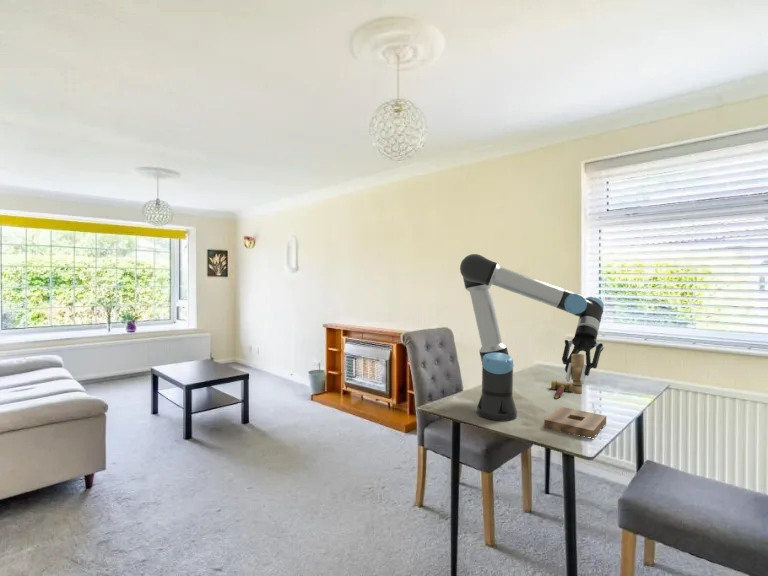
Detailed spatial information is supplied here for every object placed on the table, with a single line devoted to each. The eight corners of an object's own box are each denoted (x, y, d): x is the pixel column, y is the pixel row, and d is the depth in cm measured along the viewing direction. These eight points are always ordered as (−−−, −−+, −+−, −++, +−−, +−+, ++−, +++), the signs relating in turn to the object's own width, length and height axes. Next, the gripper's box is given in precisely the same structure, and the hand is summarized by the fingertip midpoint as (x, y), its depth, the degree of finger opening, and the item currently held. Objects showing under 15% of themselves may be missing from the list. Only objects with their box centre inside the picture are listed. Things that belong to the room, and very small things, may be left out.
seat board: (544, 427, 144) (544, 419, 144) (561, 414, 159) (561, 406, 159) (593, 439, 133) (593, 430, 133) (606, 423, 149) (606, 415, 149)
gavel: (568, 394, 177) (544, 391, 182) (568, 404, 177) (544, 401, 183) (574, 382, 194) (552, 379, 200) (574, 391, 195) (552, 388, 200)
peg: (569, 393, 146) (570, 354, 146) (572, 390, 149) (573, 353, 149) (581, 395, 143) (582, 356, 143) (584, 392, 146) (585, 354, 146)
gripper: (613, 339, 152) (602, 391, 140) (565, 334, 163) (551, 382, 151) (610, 326, 148) (599, 378, 135) (561, 322, 159) (547, 370, 146)
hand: (574, 380), depth 143 cm, fingers closed on peg, 4 cm apart
